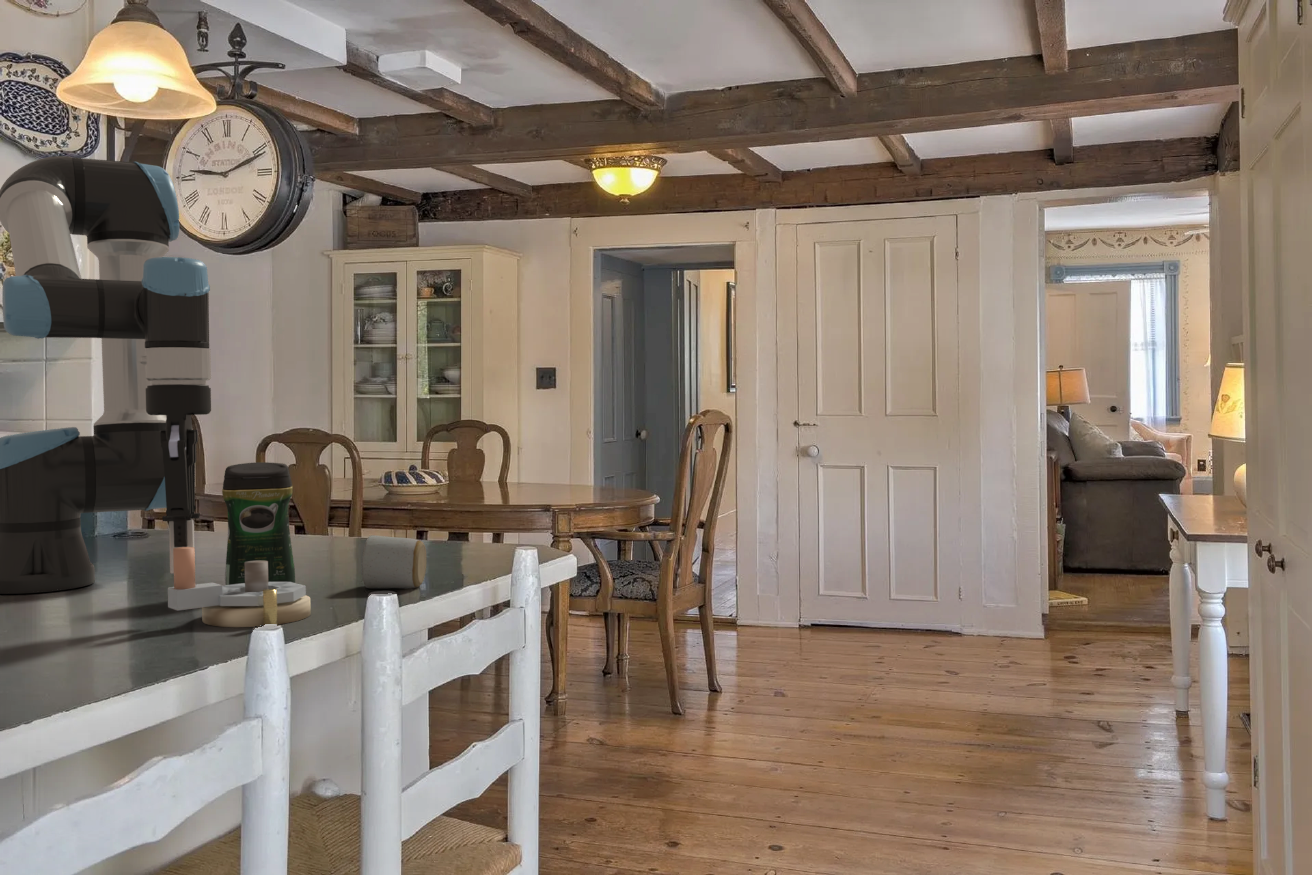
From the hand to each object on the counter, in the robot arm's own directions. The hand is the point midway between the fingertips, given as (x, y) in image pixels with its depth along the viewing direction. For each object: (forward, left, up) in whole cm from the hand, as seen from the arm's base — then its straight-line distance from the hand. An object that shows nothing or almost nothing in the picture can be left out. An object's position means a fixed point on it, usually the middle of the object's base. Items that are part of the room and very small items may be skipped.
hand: (182, 571), depth 145 cm
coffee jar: (-4, +21, -6) cm, 23 cm away
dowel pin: (+13, -1, -6) cm, 14 cm away
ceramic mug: (+12, +31, -6) cm, 34 cm away
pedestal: (+8, +4, -6) cm, 11 cm away
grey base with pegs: (+6, +2, -4) cm, 8 cm away
